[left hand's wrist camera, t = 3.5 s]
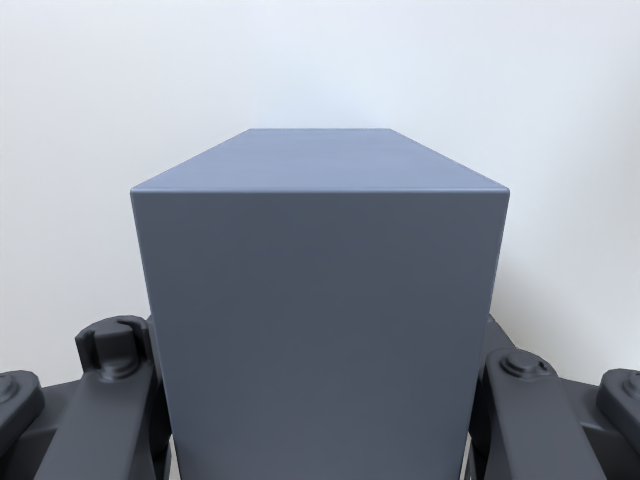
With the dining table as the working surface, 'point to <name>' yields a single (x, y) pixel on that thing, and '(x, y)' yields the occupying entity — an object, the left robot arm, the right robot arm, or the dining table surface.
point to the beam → (320, 304)
